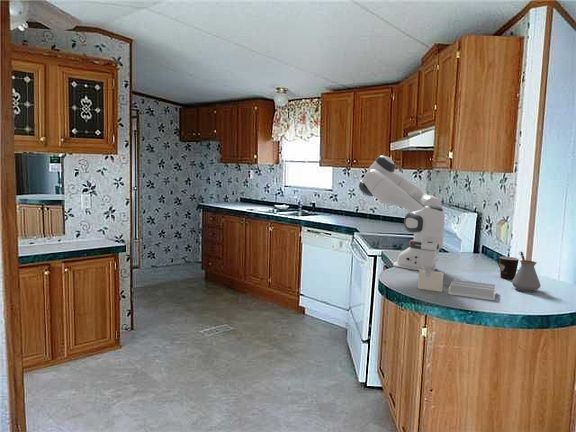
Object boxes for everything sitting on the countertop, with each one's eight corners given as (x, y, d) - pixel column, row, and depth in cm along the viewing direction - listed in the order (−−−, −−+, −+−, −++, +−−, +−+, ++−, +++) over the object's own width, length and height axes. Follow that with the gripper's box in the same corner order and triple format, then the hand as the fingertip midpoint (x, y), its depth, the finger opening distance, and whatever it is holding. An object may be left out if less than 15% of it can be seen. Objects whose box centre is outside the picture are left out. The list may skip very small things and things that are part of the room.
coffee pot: (543, 294, 203) (546, 260, 201) (514, 291, 206) (516, 258, 204) (531, 283, 223) (534, 252, 222) (505, 280, 226) (508, 250, 225)
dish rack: (448, 294, 198) (448, 284, 198) (451, 287, 210) (452, 278, 210) (494, 300, 191) (495, 290, 190) (495, 293, 202) (496, 284, 202)
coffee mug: (519, 280, 227) (521, 260, 226) (500, 279, 229) (502, 259, 228) (512, 275, 239) (514, 256, 238) (494, 274, 240) (496, 255, 239)
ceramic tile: (417, 288, 206) (419, 270, 205) (418, 287, 208) (420, 269, 208) (441, 291, 202) (442, 273, 201) (442, 290, 204) (443, 272, 203)
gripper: (428, 239, 214) (426, 269, 215) (420, 245, 195) (418, 278, 197) (443, 241, 211) (440, 271, 212) (435, 247, 193) (433, 280, 194)
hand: (429, 274), depth 204 cm, fingers open, 8 cm apart
